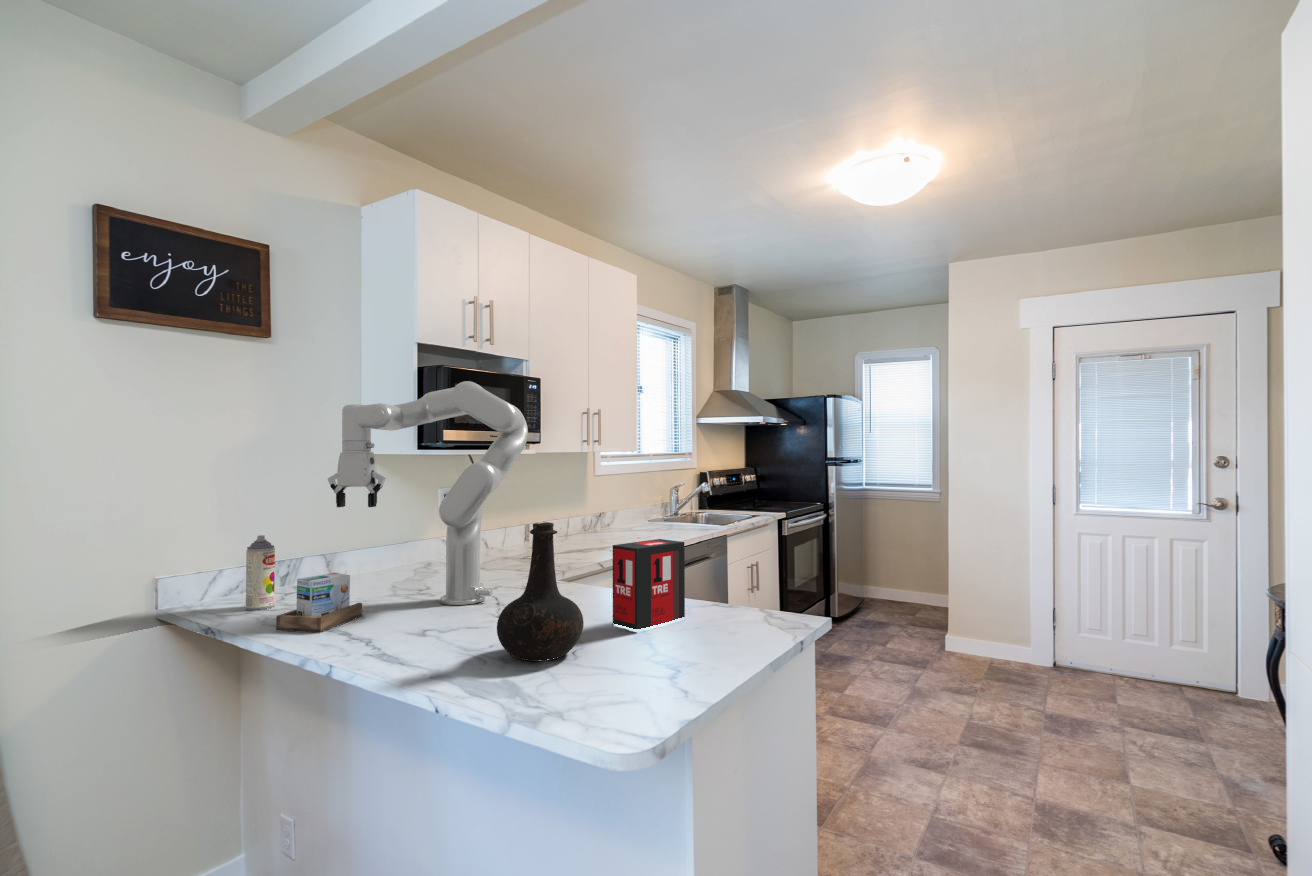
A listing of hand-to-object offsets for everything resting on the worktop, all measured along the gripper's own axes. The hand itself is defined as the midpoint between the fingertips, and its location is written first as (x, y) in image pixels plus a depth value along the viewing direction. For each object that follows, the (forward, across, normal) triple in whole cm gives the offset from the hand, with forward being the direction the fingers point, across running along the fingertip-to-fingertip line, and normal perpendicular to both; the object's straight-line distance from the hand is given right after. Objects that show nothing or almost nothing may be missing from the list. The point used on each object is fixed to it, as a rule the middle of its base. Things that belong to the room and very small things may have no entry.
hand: (356, 506), depth 186 cm
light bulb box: (+27, -4, +21) cm, 34 cm away
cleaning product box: (+28, -87, +12) cm, 92 cm away
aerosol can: (+28, +23, +9) cm, 37 cm away
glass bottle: (+28, -68, +40) cm, 84 cm away
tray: (+28, -4, +22) cm, 35 cm away
